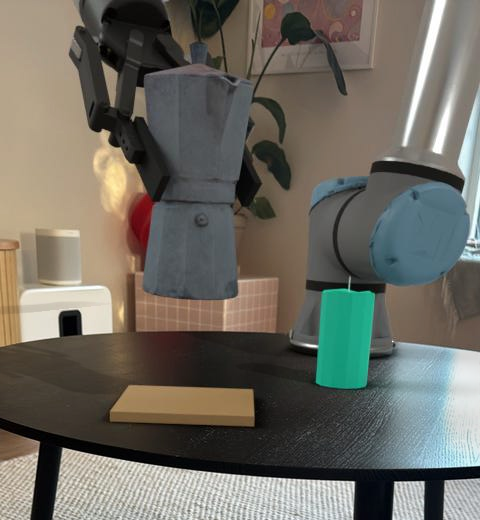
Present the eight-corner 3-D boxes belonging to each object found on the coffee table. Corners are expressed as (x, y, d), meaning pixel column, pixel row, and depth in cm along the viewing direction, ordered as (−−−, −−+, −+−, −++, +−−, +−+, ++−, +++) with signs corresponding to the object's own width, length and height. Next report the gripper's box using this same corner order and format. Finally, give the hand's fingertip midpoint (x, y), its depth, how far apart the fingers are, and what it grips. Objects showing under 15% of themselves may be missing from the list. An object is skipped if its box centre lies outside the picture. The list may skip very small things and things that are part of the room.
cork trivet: (252, 398, 79) (253, 389, 79) (254, 426, 68) (254, 416, 67) (129, 394, 79) (128, 384, 79) (109, 421, 68) (109, 411, 67)
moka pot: (183, 304, 61) (186, 16, 54) (104, 288, 73) (99, 50, 66) (277, 303, 66) (292, 38, 59) (190, 288, 78) (193, 66, 71)
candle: (355, 390, 85) (366, 279, 80) (307, 384, 87) (314, 275, 83) (374, 382, 89) (384, 277, 85) (327, 376, 92) (335, 274, 88)
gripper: (200, 61, 79) (285, 228, 73) (-1, 25, 67) (79, 220, 61) (230, -10, 73) (326, 166, 67) (15, -62, 61) (106, 144, 55)
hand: (208, 192), depth 64 cm, fingers closed on moka pot, 8 cm apart
